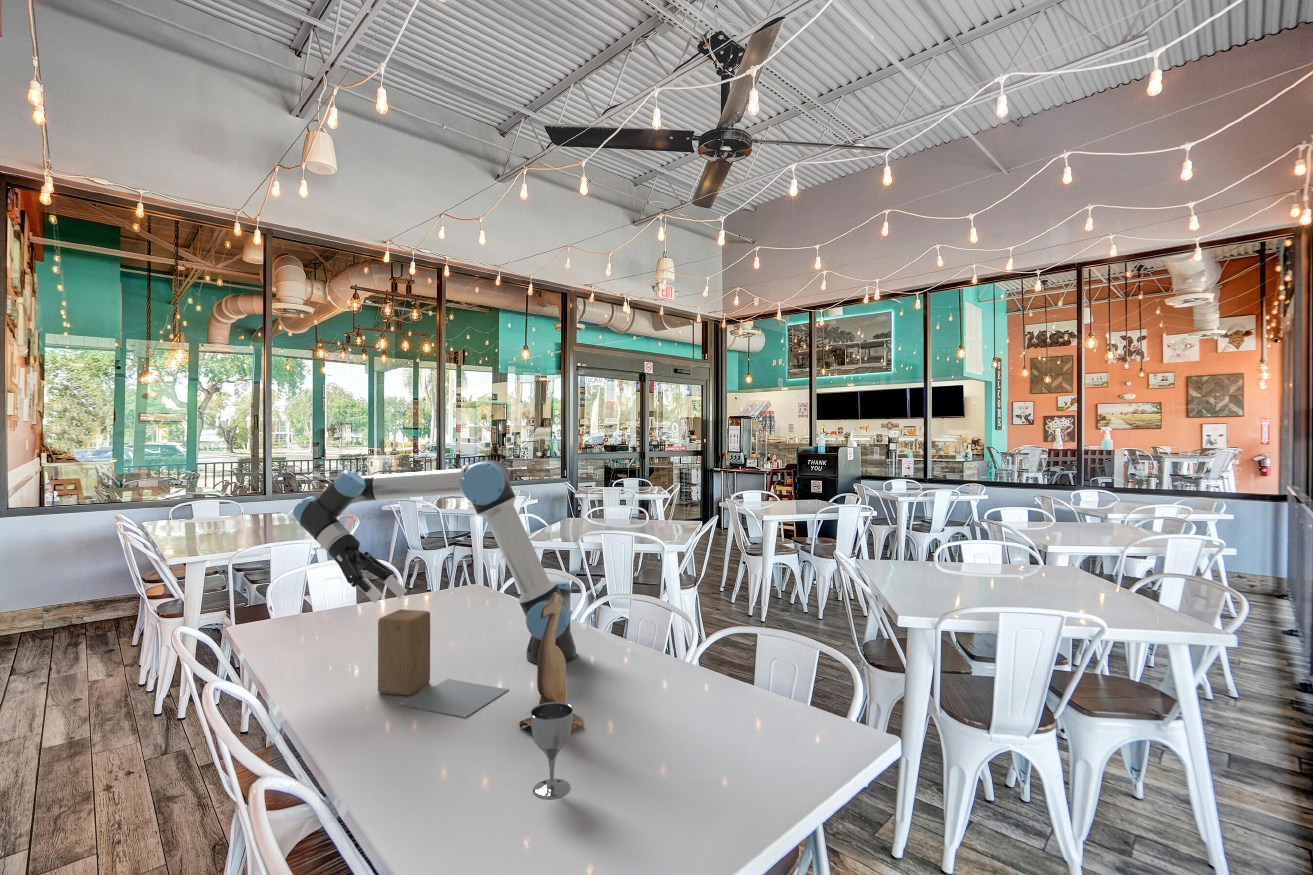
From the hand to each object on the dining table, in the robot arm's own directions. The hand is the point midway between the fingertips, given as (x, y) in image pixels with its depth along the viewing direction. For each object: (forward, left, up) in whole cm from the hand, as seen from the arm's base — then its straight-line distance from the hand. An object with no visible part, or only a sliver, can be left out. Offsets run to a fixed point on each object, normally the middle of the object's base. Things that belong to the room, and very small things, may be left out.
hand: (391, 596), depth 169 cm
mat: (-20, -1, -25) cm, 32 cm away
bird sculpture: (-52, +5, -25) cm, 58 cm away
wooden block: (-3, -1, -25) cm, 25 cm away
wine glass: (-65, +27, -25) cm, 75 cm away
